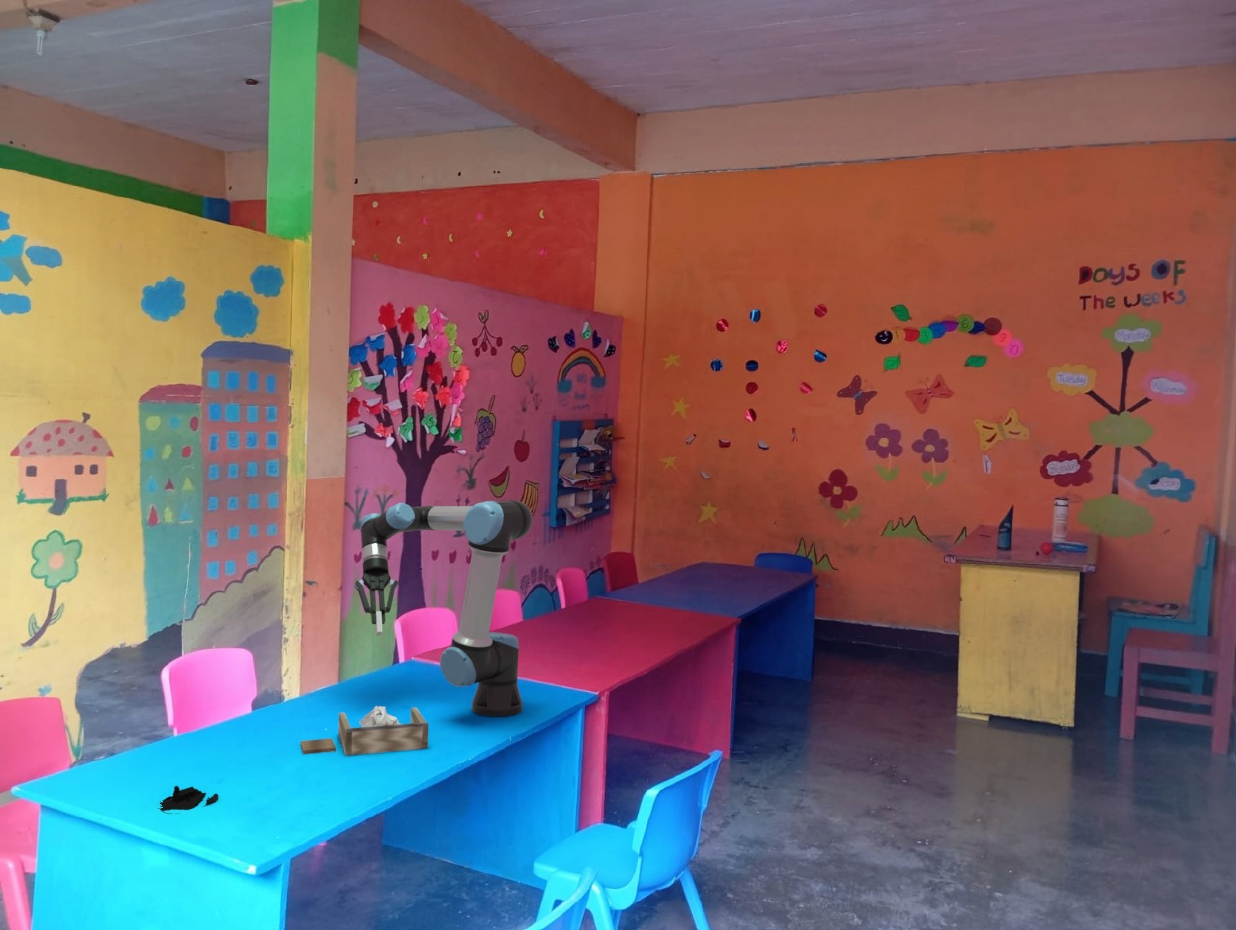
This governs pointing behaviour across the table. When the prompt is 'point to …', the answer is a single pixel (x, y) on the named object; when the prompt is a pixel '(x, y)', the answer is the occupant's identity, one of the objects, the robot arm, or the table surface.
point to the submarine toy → (186, 799)
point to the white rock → (374, 719)
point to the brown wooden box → (384, 736)
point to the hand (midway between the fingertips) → (379, 633)
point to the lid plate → (317, 746)
